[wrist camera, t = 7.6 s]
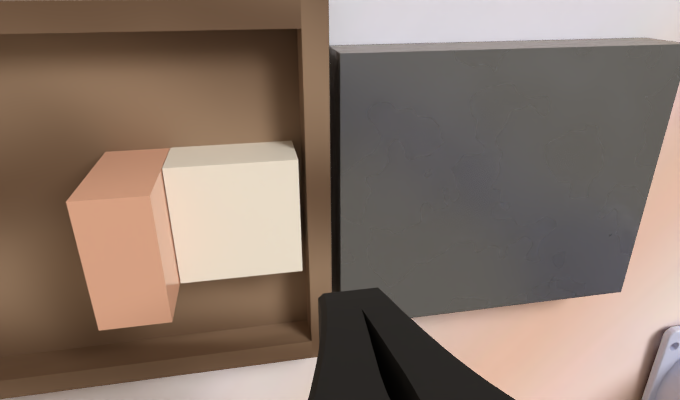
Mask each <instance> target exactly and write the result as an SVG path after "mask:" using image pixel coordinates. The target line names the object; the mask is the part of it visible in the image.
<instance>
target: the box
mask: <svg viewBox="0 0 680 400" xmlns="http://www.w3.org/2000/svg"><path fill="white" fill-rule="evenodd" d="M277 141H292V143H293V146H294V149H295V152H296V155H297V158H298V169H299V194H300V219H301V244H302V269H303V271H296V272H287V273H277V274H267V275H258V276H248V277H238V278H228V279H219V280H209V281H199V282H190V283H181V282H180V286H179V291H178V296H177V301H176V306H175V311H174V316H173V321H172V322H170V323H161V324H152V325H144V326H135V327H126V328H118V329H109V330H100V331H99V330H98V326H97V322H96V318H95V314H94V310H93V306H92V302H91V298H90V295H89V291H88V287H87V283H86V279H85V275H84V271H83V267H82V263H81V259H80V255H79V251H78V248H77V244H76V240H75V236H74V232H73V228H72V224H71V220H70V216H69V212H68V208H67V204H66V201H67V200H68V199H69V197H70V196H71V195H72V193H73V192H74V191H75V190H76V188H77V187H78V186H79V185H80V183H81V182H82V181H83V180H84V178H85V177H86V176H87V174H88V173H89V172H90V171H91V169H92V168H93V167H94V166H95V164H96V163H97V162H98V161H99V159H100V158H101V157H102V155H103V154H104V153H105V152H111V151H128V150H145V149H163V148H173V147H191V146H208V145H225V144H243V143H260V142H277ZM323 293H332V275H331V184H330V92H329V1H328V0H0V399H4V398H12V397H19V396H27V395H34V394H42V393H49V392H57V391H64V390H72V389H79V388H87V387H94V386H102V385H110V384H117V383H125V382H132V381H140V380H147V379H155V378H162V377H170V376H177V375H185V374H192V373H200V372H207V371H215V370H222V369H230V368H237V367H245V366H252V365H260V364H267V363H275V362H282V361H290V360H297V359H305V358H312V357H318V351H319V317H318V298H319V297H320V296H321V295H322V294H323Z"/></svg>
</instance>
